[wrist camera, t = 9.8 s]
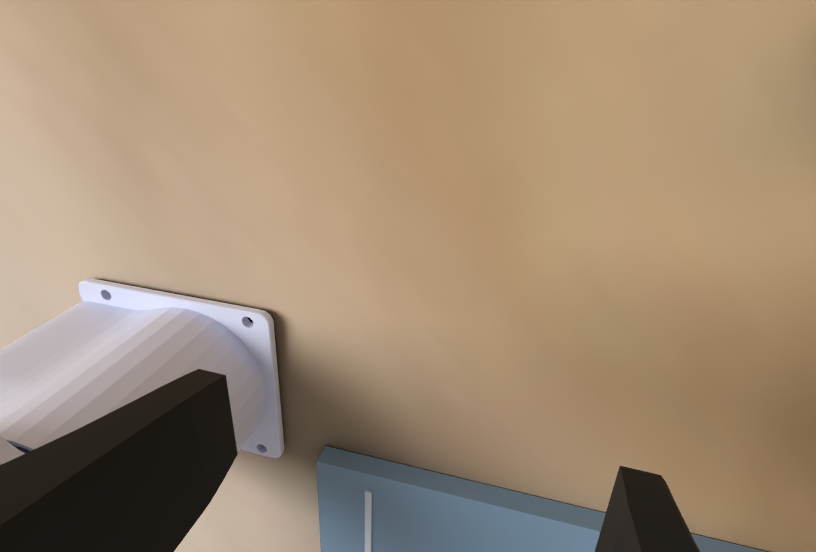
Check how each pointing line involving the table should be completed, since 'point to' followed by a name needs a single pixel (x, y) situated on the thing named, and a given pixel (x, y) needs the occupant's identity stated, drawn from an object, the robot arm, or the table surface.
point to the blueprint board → (446, 513)
